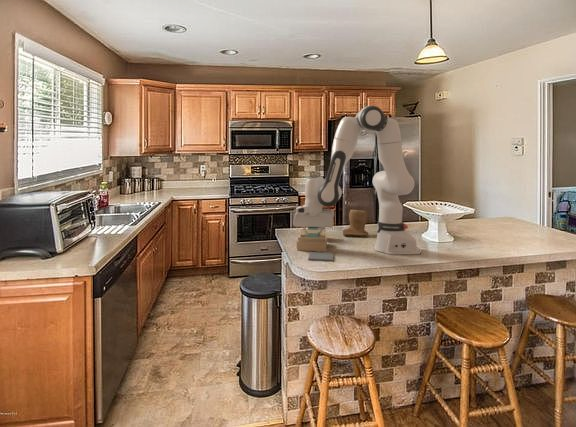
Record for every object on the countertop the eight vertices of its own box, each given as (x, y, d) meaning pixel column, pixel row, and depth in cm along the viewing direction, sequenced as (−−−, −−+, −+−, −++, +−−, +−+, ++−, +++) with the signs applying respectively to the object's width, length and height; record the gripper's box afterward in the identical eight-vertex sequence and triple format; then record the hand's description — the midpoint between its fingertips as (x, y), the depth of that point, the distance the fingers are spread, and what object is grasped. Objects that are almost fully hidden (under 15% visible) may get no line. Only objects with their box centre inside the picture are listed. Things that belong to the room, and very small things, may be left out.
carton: (326, 242, 205) (327, 229, 204) (326, 252, 186) (326, 238, 185) (299, 241, 207) (299, 228, 206) (296, 251, 188) (296, 237, 187)
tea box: (318, 243, 199) (318, 226, 198) (317, 246, 193) (318, 228, 192) (308, 242, 200) (308, 225, 198) (307, 245, 194) (307, 228, 193)
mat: (333, 254, 183) (333, 252, 183) (333, 261, 172) (333, 259, 172) (309, 253, 184) (309, 251, 184) (308, 260, 174) (308, 258, 174)
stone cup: (366, 233, 230) (367, 208, 227) (369, 237, 218) (370, 211, 216) (340, 232, 231) (341, 207, 228) (342, 237, 219) (343, 211, 216)
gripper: (334, 208, 195) (333, 234, 198) (294, 207, 198) (294, 233, 200) (334, 210, 189) (333, 237, 192) (292, 209, 192) (292, 236, 194)
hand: (313, 235), depth 196 cm, fingers closed on tea box, 5 cm apart
